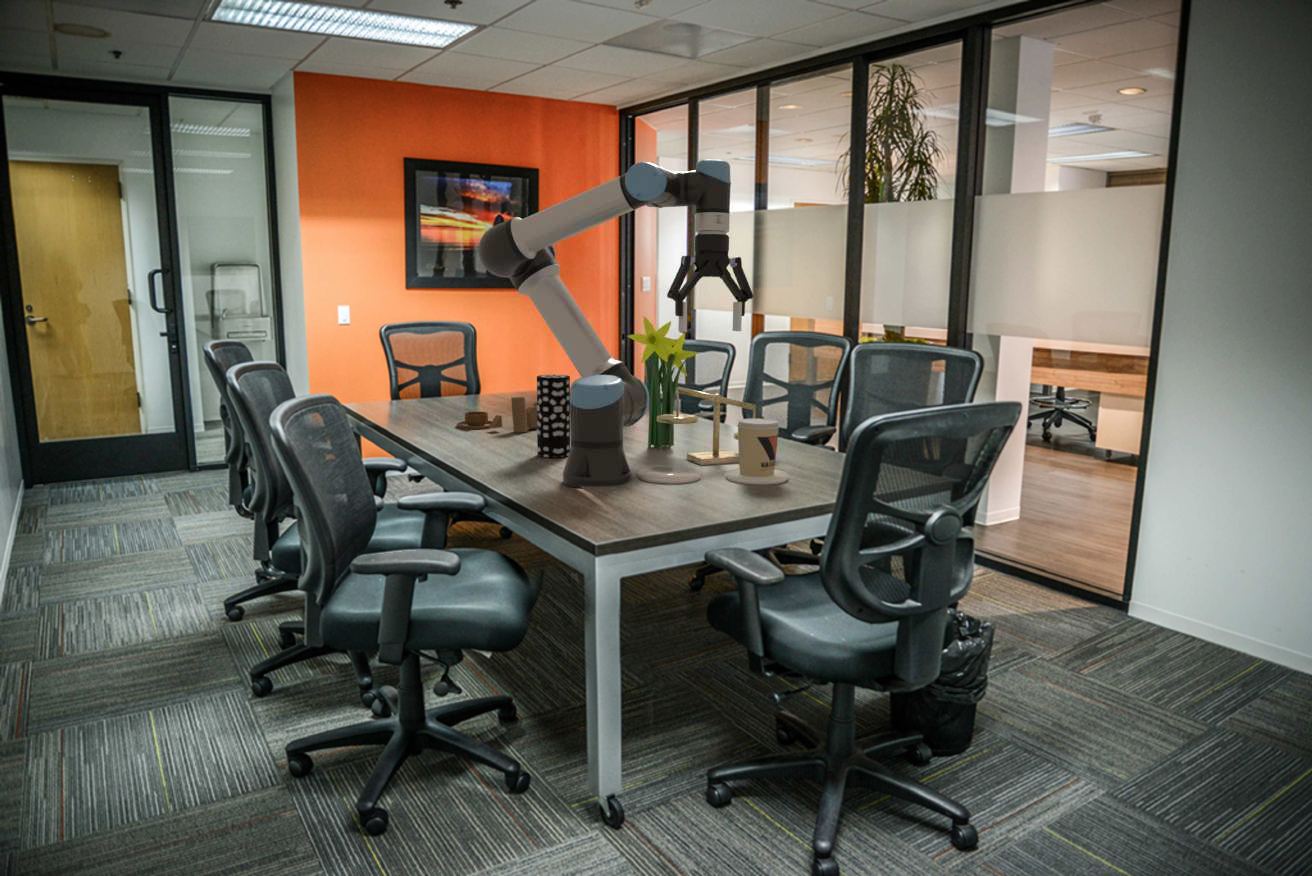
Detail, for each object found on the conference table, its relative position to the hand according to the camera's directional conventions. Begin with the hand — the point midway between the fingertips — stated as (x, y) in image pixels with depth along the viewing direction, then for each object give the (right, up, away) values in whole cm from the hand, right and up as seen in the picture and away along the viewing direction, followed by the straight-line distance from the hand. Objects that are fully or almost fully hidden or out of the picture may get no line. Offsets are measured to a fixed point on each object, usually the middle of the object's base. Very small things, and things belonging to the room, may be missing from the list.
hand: (710, 331), depth 199 cm
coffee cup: (+11, -32, +3) cm, 34 cm away
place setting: (-63, -22, +71) cm, 97 cm away
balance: (+3, -29, +23) cm, 37 cm away
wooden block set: (-52, -22, +66) cm, 86 cm away
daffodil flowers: (-11, -27, +40) cm, 49 cm away
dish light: (-9, -33, +3) cm, 34 cm away
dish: (+11, -33, +3) cm, 35 cm away
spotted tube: (-38, -28, +29) cm, 55 cm away
